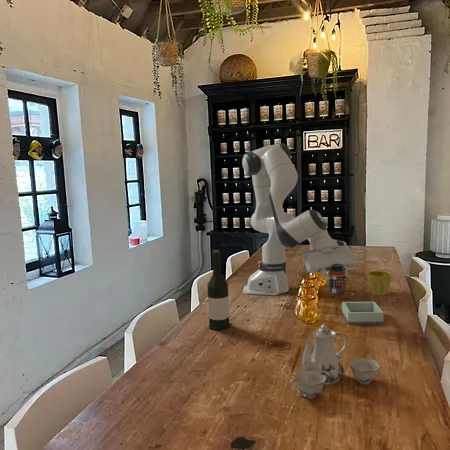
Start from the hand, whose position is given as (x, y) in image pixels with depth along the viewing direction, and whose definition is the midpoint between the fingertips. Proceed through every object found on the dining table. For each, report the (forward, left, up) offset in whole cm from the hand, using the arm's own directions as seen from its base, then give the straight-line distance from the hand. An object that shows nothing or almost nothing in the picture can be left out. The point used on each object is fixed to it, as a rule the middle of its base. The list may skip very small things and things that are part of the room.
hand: (338, 278), depth 160 cm
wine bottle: (-45, -3, -18) cm, 49 cm away
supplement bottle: (0, +1, -6) cm, 6 cm away
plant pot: (+25, +37, -18) cm, 48 cm away
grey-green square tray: (+10, +6, -18) cm, 21 cm away
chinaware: (-9, -45, -18) cm, 49 cm away
